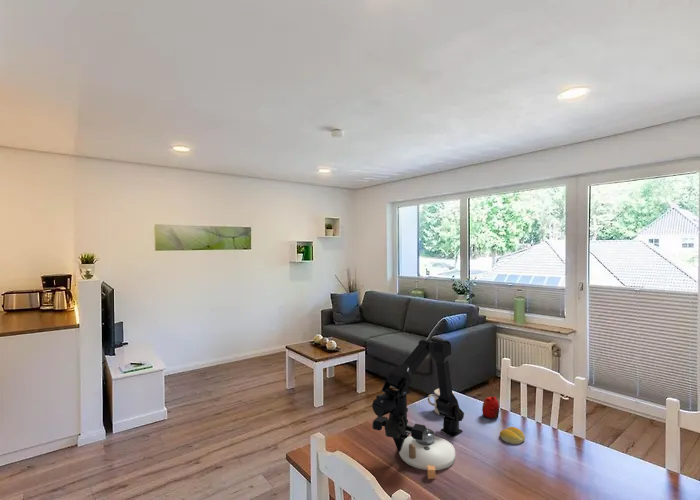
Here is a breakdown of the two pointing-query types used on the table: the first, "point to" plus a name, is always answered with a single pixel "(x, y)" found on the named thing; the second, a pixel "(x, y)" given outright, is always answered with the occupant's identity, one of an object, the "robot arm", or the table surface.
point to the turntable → (428, 453)
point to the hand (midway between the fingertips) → (399, 450)
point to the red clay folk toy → (491, 407)
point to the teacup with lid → (436, 395)
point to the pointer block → (431, 472)
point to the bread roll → (512, 435)
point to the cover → (427, 438)
